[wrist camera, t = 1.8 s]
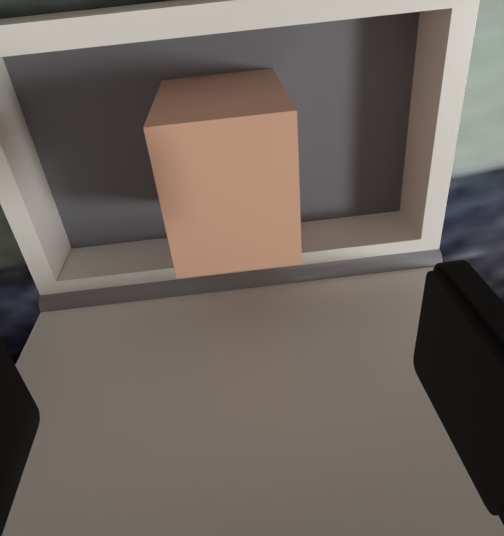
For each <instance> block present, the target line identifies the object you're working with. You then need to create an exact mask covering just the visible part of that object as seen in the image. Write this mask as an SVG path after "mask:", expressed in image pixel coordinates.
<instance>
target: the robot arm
mask: <svg viewBox="0 0 504 536" xmlns="http://www.w3.org/2000/svg"><path fill="white" fill-rule="evenodd" d="M413 364H414V368H415V372H416V374H417V376H418V378H419V380H420V382H421V384H422V386H423V388H424V390H425V391H426V393H427V395H428V397H429V399H430V401H431V403H432V405H433V407H434V409H435V411H436V413H437V415H438V416H439V418H440V420H441V422H442V424H443V426H444V428H445V430H446V432H447V434H448V436H449V438H450V440H451V441H452V443H453V445H454V447H455V449H456V451H457V453H458V455H459V457H460V459H461V461H462V463H463V465H464V466H465V468H466V470H467V472H468V474H469V476H470V478H471V480H472V482H473V484H474V486H475V488H476V490H477V491H478V493H479V495H480V497H481V499H482V501H483V503H484V505H485V507H486V508H487V510H488V511H489V512H490V514H492V515H493V516H497V515H498V516H499V518H500V519H501V521H502V523H503V525H504V303H503V302H502V301H501V300H500V299H499V298H498V296H497V295H496V294H495V293H494V292H493V291H492V289H491V288H490V287H489V286H488V285H487V284H486V283H485V281H484V280H483V279H482V278H481V277H480V276H479V275H478V273H477V272H476V271H475V270H474V269H473V268H472V267H471V265H470V264H469V263H468V262H466V261H465V260H458V261H450V262H442V263H437V264H436V265H435V266H434V269H433V270H432V271H428V272H427V274H426V279H425V285H424V292H423V298H422V305H421V311H420V317H419V324H418V330H417V337H416V343H415V349H414V356H413ZM39 423H40V413H39V409H38V407H37V405H36V403H35V401H34V399H33V397H32V395H31V394H30V392H29V390H28V388H27V386H26V384H25V382H24V381H23V379H22V377H21V375H20V373H19V371H18V369H17V368H16V366H15V364H14V362H13V360H12V358H11V357H10V355H9V353H8V351H7V349H6V347H5V345H4V344H3V342H2V340H1V338H0V536H2V533H3V530H4V528H5V525H6V522H7V519H8V516H9V513H10V510H11V507H12V504H13V501H14V498H15V495H16V492H17V489H18V486H19V483H20V480H21V477H22V474H23V471H24V468H25V465H26V462H27V459H28V456H29V453H30V450H31V447H32V444H33V441H34V439H35V436H36V433H37V430H38V427H39Z"/></svg>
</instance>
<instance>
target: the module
mask: <svg viewBox="0 0 504 536" xmlns="http://www.w3.org/2000/svg"><path fill="white" fill-rule="evenodd" d="M143 129H144V134H145V138H146V143H147V147H148V152H149V156H150V161H151V165H152V170H153V174H154V179H155V183H156V188H157V193H158V197H159V202H160V206H161V211H162V215H163V220H164V224H165V229H166V233H167V238H168V242H169V247H170V251H171V256H172V261H173V265H174V270H175V274H176V279H178V278H187V277H196V276H204V275H213V274H221V273H230V272H239V271H247V270H256V269H265V268H273V267H282V266H290V265H299V264H302V245H301V215H300V185H299V154H298V124H297V109H296V108H295V106H294V104H293V103H292V101H291V99H290V97H289V96H288V94H287V92H286V90H285V89H284V87H283V85H282V83H281V82H280V80H279V78H278V77H277V75H276V73H275V71H274V70H273V68H270V69H261V70H252V71H243V72H233V73H224V74H215V75H206V76H197V77H188V78H179V79H170V80H162V81H161V84H160V86H159V89H158V91H157V94H156V96H155V99H154V101H153V104H152V107H151V109H150V112H149V114H148V117H147V119H146V122H145V124H144V127H143Z"/></svg>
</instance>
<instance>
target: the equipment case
mask: <svg viewBox="0 0 504 536" xmlns="http://www.w3.org/2000/svg"><path fill="white" fill-rule="evenodd" d="M479 2H480V0H171V1H162V2H153V3H144V4H134V5H125V6H116V7H106V8H97V9H88V10H79V11H69V12H60V13H51V14H41V15H32V16H23V17H13V18H4V19H0V204H1V206H2V209H3V211H4V213H5V216H6V218H7V220H8V222H9V225H10V227H11V229H12V232H13V234H14V236H15V239H16V241H17V243H18V245H19V248H20V250H21V252H22V255H23V257H24V259H25V262H26V264H27V266H28V268H29V271H30V273H31V275H32V278H33V280H34V282H35V285H36V287H37V289H38V292H39V294H40V297H39V309H40V312H41V313H40V315H39V317H38V319H37V321H36V323H35V325H34V327H33V329H32V331H31V334H30V336H29V338H28V340H27V342H26V344H25V346H24V348H23V350H22V352H21V354H20V357H19V359H18V361H17V363H16V365H15V366H16V368H17V369H18V371H19V373H20V375H21V377H22V379H23V381H24V382H25V384H26V386H27V388H28V390H29V392H30V394H31V395H32V397H33V399H34V401H35V403H36V405H37V407H38V409H39V413H40V423H39V427H38V430H37V433H36V436H35V439H34V441H33V444H32V447H31V450H30V453H29V456H28V459H27V462H26V465H25V468H24V471H23V474H22V477H21V480H20V483H19V486H18V489H17V492H16V495H15V498H14V501H13V504H12V507H11V510H10V513H9V516H8V519H7V522H6V525H5V528H4V530H3V533H2V536H504V525H503V523H502V521H501V519H500V518H499V516H498V515H497V516H493V515H492V514H490V512H489V511H488V510H487V508H486V507H485V505H484V503H483V501H482V499H481V497H480V495H479V493H478V491H477V490H476V488H475V486H474V484H473V482H472V480H471V478H470V476H469V474H468V472H467V470H466V468H465V466H464V465H463V463H462V461H461V459H460V457H459V455H458V453H457V451H456V449H455V447H454V445H453V443H452V441H451V440H450V438H449V436H448V434H447V432H446V430H445V428H444V426H443V424H442V422H441V420H440V418H439V416H438V415H437V413H436V411H435V409H434V407H433V405H432V403H431V401H430V399H429V397H428V395H427V393H426V391H425V390H424V388H423V386H422V384H421V382H420V380H419V378H418V376H417V374H416V372H415V368H414V364H413V356H414V349H415V343H416V337H417V330H418V324H419V317H420V311H421V305H422V298H423V292H424V285H425V279H426V274H427V272H428V271H432V270H433V269H434V266H435V265H436V264H437V263H442V262H443V259H442V254H441V251H440V250H439V247H440V240H441V234H442V228H443V222H444V216H445V210H446V204H447V198H448V192H449V185H450V179H451V173H452V167H453V161H454V155H455V149H456V143H457V136H458V130H459V124H460V118H461V112H462V106H463V100H464V94H465V87H466V81H467V75H468V69H469V63H470V57H471V51H472V45H473V38H474V32H475V26H476V20H477V14H478V8H479ZM270 68H273V70H274V71H275V73H276V75H277V77H278V78H279V80H280V82H281V83H282V85H283V87H284V89H285V90H286V92H287V94H288V96H289V97H290V99H291V101H292V103H293V104H294V106H295V108H296V109H297V124H298V154H299V185H300V215H301V245H302V264H299V265H290V266H282V267H273V268H265V269H256V270H247V271H239V272H230V273H221V274H213V275H204V276H196V277H187V278H178V279H176V274H175V270H174V265H173V261H172V256H171V251H170V247H169V242H168V238H167V233H166V229H165V224H164V220H163V215H162V211H161V206H160V202H159V197H158V193H157V188H156V183H155V179H154V174H153V170H152V165H151V161H150V156H149V152H148V147H147V143H146V138H145V134H144V129H143V127H144V124H145V122H146V119H147V117H148V114H149V112H150V109H151V107H152V104H153V101H154V99H155V96H156V94H157V91H158V89H159V86H160V84H161V81H162V80H170V79H179V78H188V77H197V76H206V75H215V74H224V73H233V72H243V71H252V70H261V69H270Z"/></svg>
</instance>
